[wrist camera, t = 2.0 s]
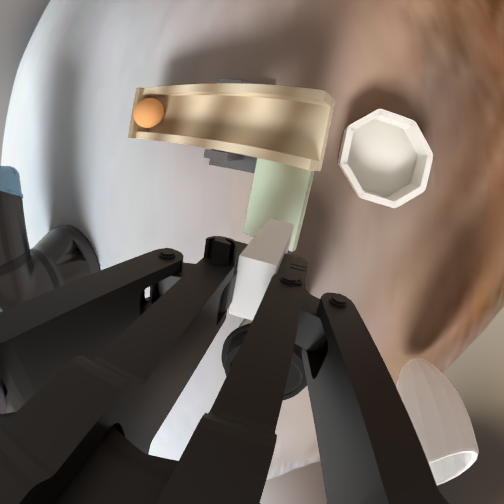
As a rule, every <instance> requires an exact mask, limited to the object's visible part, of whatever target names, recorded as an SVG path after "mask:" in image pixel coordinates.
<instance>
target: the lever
mask: <svg viewBox="0 0 504 504" xmlns="http://www.w3.org/2000/svg"><path fill="white" fill-rule="evenodd" d="M146 98H154V99H157V100H158V101H160V102H161V104H162V105H163V108H164V116H163V118H162V120H161V121H160V123H158V124H157V125H156V126H154V127H151V128H144V127H141V126H139V125H138V124H137V123H136V122H135V120H134V116H133V112H134V109H135V107H136V105H137V104H138V103H139V102H140V101H141V100H143V99H146ZM334 105H335V99H334V98H333V97H332V96H331V95H330V94H328V93H327V92H326V91H324V90H317V89H310V88H301V87H291V86H280V85H265V84H240V83H212V84H186V85H172V86H161V87H151V88H136V93H135V99H134V104H133V110H132V116H131V122H130V128H129V135H128V138H140V139H148V140H157V141H164V142H172V143H179V144H185V145H192V146H198V147H204V148H210V149H216V150H221V151H226V152H232V153H237V154H242V155H247V156H251V157H256V158H257V162H256V168H255V173H254V178H253V183H252V188H251V194H250V199H249V204H248V210H247V215H246V220H245V226H244V231H243V233H245V234H247V235H250V236H253V237H255V236H256V234H257V233H258V232H259V231H260V230H261V228H262V227H263V226H264V225H265V224H266V222H267V221H268V220H269V219H270V218H272V219H276V220H280V221H284V222H288V223H292V224H294V228H293V232H292V237H291V241H290V245H289V249H288V251H291V252H293V251H295V250H296V247H297V243H298V239H299V235H300V231H301V227H302V223H303V219H304V215H305V211H306V206H307V202H308V198H309V194H310V189H311V185H312V181H313V176H314V172H315V171H321V167H322V163H323V158H324V154H325V149H326V144H327V140H328V135H329V130H330V125H331V120H332V115H333V110H334Z"/></svg>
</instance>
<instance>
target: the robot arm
mask: <svg viewBox="0 0 504 504" xmlns="http://www.w3.org/2000/svg"><path fill="white" fill-rule="evenodd" d="M22 198H23V194H22V192H21V185H20V176H19V173H18V171H17V170H16V169H15V168H14V167H11V166H0V504H260V503H259V502H260V499H261V496H262V492H263V489H264V485H265V482H266V478H267V475H268V471H269V467H270V464H271V460H272V456H273V452H274V448H275V444H276V438H277V435H276V434H275V429H276V425H277V421H278V417H279V413H280V409H281V404H282V400H283V396H284V391H285V387H286V382H287V378H288V373H289V369H290V364H291V359H292V354H293V349H294V344H296V345H298V346H300V347H302V359H303V364H304V369H305V374H306V380H307V385H308V390H309V396H310V401H311V407H312V412H313V418H314V424H315V429H316V435H317V441H318V447H319V453H320V459H321V466H322V471H323V478H324V485H325V491H326V497H327V504H449V503H448V502H447V501H446V500H445V498H444V497H443V496H442V494H441V493H440V492H439V490H438V488H437V485H436V482H435V479H434V476H433V474H432V471H431V468H430V466H429V463H428V460H427V458H426V455H425V453H424V450H423V448H422V445H421V443H420V440H419V438H418V436H417V433H416V431H415V428H414V426H413V424H412V421H411V419H410V417H409V414H408V412H407V410H406V408H405V405H404V403H403V401H402V399H401V397H400V394H399V392H398V390H397V388H396V386H395V384H394V382H393V380H392V377H391V375H390V373H389V371H388V369H387V367H386V365H385V363H384V361H383V359H382V357H381V355H380V353H379V351H378V349H377V347H376V345H375V343H374V341H373V339H372V337H371V335H370V333H369V331H368V329H367V328H366V326H365V324H364V322H363V320H362V318H361V316H360V314H359V313H358V311H357V309H356V307H355V305H354V304H353V302H352V301H351V300H350V299H348V298H347V297H346V296H344V295H343V296H342V295H341V294H336V293H326V294H323V295H322V296H321V299H318V298H316V297H314V296H312V295H311V294H309V293H308V292H307V291H306V290H305V282H304V280H305V274H306V268H307V262H306V261H305V259H304V258H301V257H297V256H293V255H290V254H287V253H288V249H289V245H290V241H291V237H292V232H293V228H294V224H292V223H288V222H284V221H280V220H276V219H272V218H270V219H269V220H268V221H267V222H266V224H265V225H264V226H263V227H262V228H261V230H260V231H259V232H258V233H257V234H256V236H255V237H254V238H253V239H252V241H251V242H250V243H249V244H245V243H241V242H237V241H234V240H233V239H230V238H227V237H221V236H212V237H208V238H206V244H205V252H204V258H202V259H201V260H200V261H199V262H198V263H197V264H190V263H183V255H182V253H180V252H179V251H176V250H174V249H171V248H170V249H169V248H165V249H158V250H154V251H152V252H149V253H146V254H143V255H141V256H138V257H135V258H133V259H130V260H127V261H125V262H122V263H119V264H117V265H114V266H112V267H109V268H106V269H104V270H101V271H100V269H99V265H98V261H97V258H96V255H95V253H94V251H93V248H92V247H91V245H90V243H89V242H88V240H87V239H86V237H85V236H84V235H83V234H82V233H81V232H80V231H79V230H77V229H76V228H74V227H72V226H70V225H61V226H59V227H56V228H54V229H52V230H51V231H49V232H48V233H47V234H46V235H45V236H44V237H43V238H42V239H41V240H40V241H39V242H38V243H37V244H36V245H35V246H34V247H33V248H32V249H29V243H28V237H27V232H26V225H25V218H24V211H23V202H22ZM149 286H150V297H148V298H145V292H144V290H145V289H146V288H147V287H149ZM230 304H231V305H230ZM229 306H230V310H229V314H232V315H235V316H239V317H242V318H245V319H249V320H252V323H251V325H250V327H249V330H248V332H247V334H246V336H245V338H244V341H243V343H242V345H241V347H240V349H239V351H238V354H237V356H236V358H235V360H234V362H233V364H232V366H231V369H230V371H229V373H228V375H227V377H226V379H225V381H224V383H223V386H222V388H221V390H220V392H219V394H218V396H217V398H216V400H215V402H214V404H213V406H212V408H211V410H210V412H209V413H208V414H207V413H205V414H204V415H203V416H202V418H201V420H200V422H199V423H198V425H197V427H196V429H195V431H194V433H193V435H192V437H191V439H190V441H189V443H188V445H187V447H186V448H185V450H184V452H183V454H182V456H181V458H180V460H179V461H176V460H170V459H165V458H161V457H156V456H152V455H148V453H149V448H150V444H151V442H152V440H153V438H154V436H155V435H156V433H157V431H158V430H159V428H160V427H161V425H162V423H163V422H164V420H165V418H166V417H167V415H168V414H169V412H170V410H171V409H172V407H173V405H174V404H175V402H176V400H177V399H178V397H179V396H180V394H181V392H182V391H183V389H184V387H185V386H186V384H187V382H188V381H189V379H190V377H191V376H192V374H193V373H194V371H195V369H196V368H197V366H198V364H199V363H200V361H201V359H202V358H203V356H204V354H205V353H206V351H207V349H208V348H209V346H210V344H211V343H212V341H213V339H214V338H215V336H216V334H217V333H218V331H219V329H220V328H221V326H222V324H223V323H224V321H225V319H226V314H227V309H228V307H229Z"/></svg>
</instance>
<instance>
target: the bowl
mask: <svg viewBox="0 0 504 504" xmlns="http://www.w3.org/2000/svg"><path fill="white" fill-rule="evenodd" d="M432 159H433V153H432V151H431V149H430V147H429V145H428V144H427V142H426V140H425V138H424V136H423V134H422V132H421V131H420V129H419V127H418V125H417V123H416V122H414V120H411V119H409V118H406V117H403V116H401V115H398V114H395V113H392V112H389V111H386V110H383V109H377V110H375V111H374V112H372V113H370V114H368V115H366V116H365V117H363V118H361V119H359V120H357V121H356V122H354V123H352V124H350V125H349V126H348V127H347V128H346V129H345V130H344V133H343V138H342V143H341V148H340V152H339V157H338V161H337V162H338V165H339V166H340V168H341V170H342V171H343V173H344V175H345V176H346V178H347V180H348V181H349V183H350V185H351V187H352V188H353V190H354V192H355V193H356V194H357V195H358V196H359V197H360V198H362V199H366V200H369V201H372V202H376V203H379V204H382V205H385V206H389V207H392V208H397V207H399V206H400V205H402V204H404V203H405V202H407V201H409V200H411V199H412V198H414V197H416V196H417V195H419V194H421V193H422V192H424V190H425V189H426V185H427V181H428V177H429V173H430V168H431V164H432Z"/></svg>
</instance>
